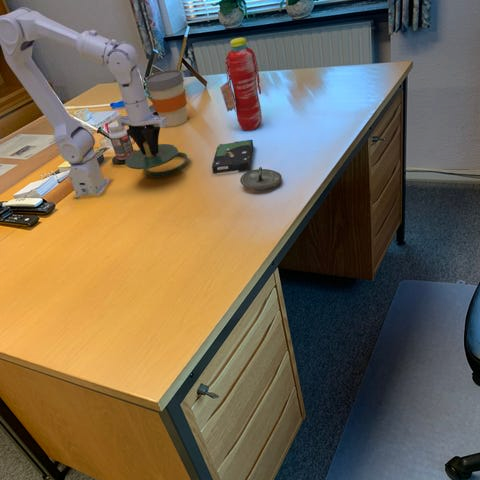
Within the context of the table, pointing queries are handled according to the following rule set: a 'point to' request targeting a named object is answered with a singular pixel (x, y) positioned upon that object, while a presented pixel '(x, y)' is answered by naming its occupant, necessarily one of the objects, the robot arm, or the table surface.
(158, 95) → the reusable coffee cup
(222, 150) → the disk drive
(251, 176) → the lid
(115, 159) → the stand
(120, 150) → the pill bottle
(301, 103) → the table surface
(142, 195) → the table surface
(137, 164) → the tin lid
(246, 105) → the water bottle
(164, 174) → the dark green open loop
